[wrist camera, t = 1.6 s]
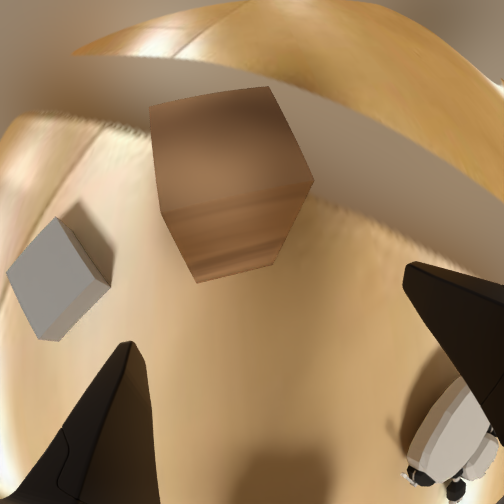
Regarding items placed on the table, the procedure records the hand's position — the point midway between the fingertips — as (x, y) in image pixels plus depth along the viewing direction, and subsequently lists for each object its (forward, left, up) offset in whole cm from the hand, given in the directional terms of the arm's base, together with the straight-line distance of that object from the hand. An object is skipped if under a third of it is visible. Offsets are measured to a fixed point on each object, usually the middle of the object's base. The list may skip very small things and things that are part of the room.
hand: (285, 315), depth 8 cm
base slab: (-9, +14, -13) cm, 21 cm away
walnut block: (+4, +7, -13) cm, 15 cm away
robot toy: (+5, -23, -13) cm, 27 cm away
